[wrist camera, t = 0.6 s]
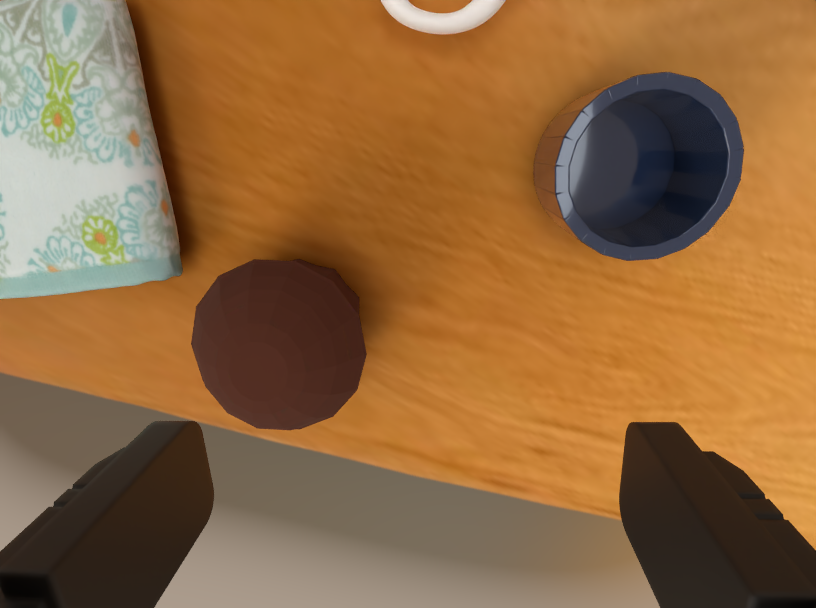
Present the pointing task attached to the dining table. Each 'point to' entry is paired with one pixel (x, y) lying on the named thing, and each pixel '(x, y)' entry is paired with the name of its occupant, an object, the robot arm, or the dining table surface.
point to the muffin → (279, 343)
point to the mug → (442, 16)
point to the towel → (78, 154)
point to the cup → (640, 165)
